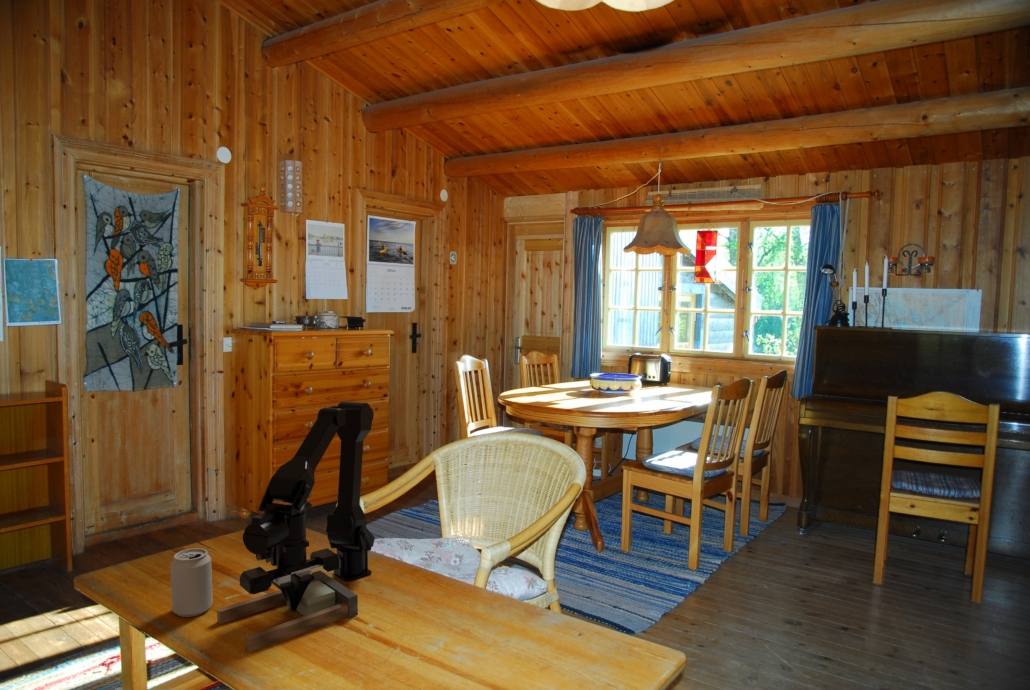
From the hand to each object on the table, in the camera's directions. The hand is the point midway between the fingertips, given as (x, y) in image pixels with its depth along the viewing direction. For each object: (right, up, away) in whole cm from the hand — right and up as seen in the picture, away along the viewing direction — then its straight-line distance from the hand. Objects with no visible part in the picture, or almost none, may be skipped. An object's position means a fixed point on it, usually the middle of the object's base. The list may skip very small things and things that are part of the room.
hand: (292, 611), depth 138 cm
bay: (-1, -1, -1) cm, 1 cm away
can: (-21, -1, +2) cm, 21 cm away
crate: (+3, -1, +4) cm, 5 cm away
